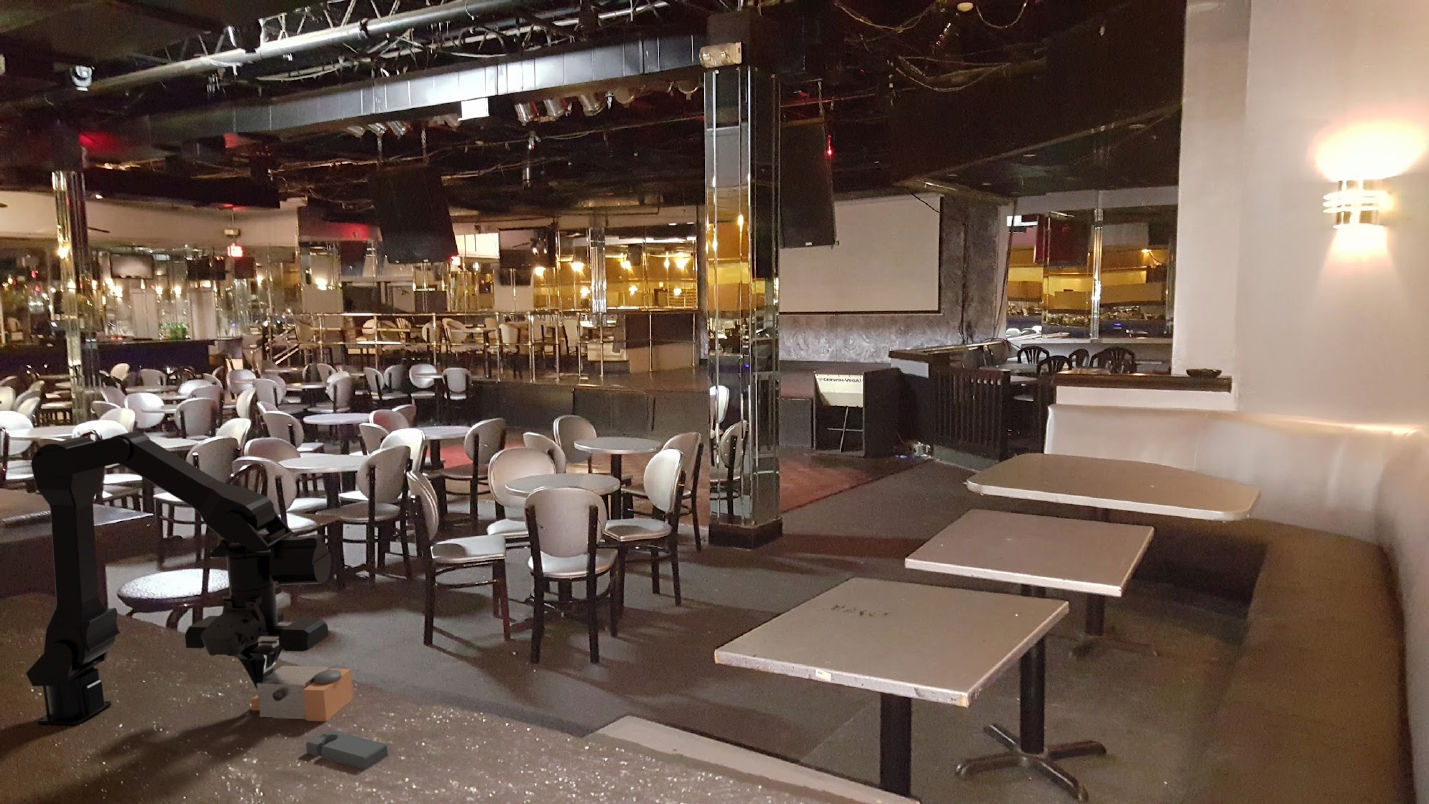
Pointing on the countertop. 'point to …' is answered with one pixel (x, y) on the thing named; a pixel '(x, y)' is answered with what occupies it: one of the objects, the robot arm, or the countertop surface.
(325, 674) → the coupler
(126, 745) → the countertop surface
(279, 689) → the grey cube with knob
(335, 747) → the bracket
